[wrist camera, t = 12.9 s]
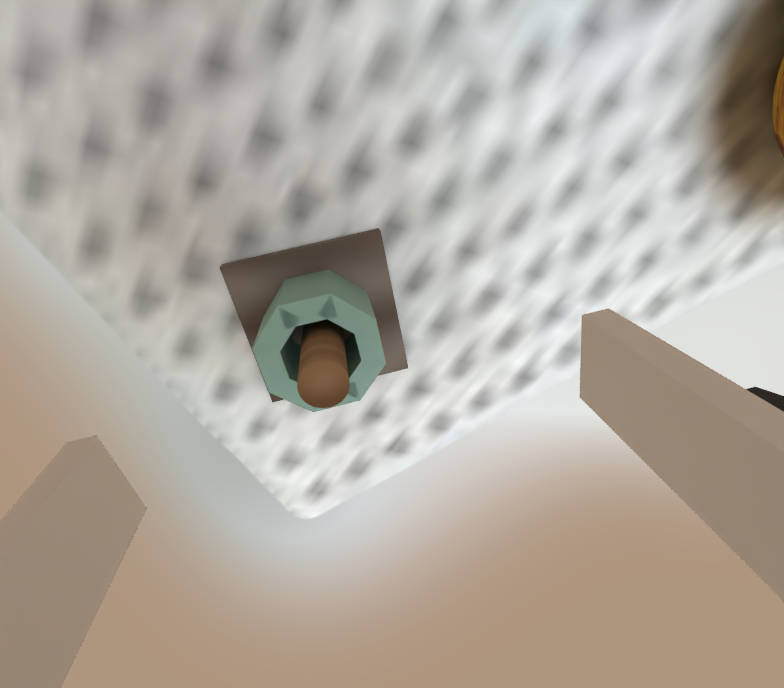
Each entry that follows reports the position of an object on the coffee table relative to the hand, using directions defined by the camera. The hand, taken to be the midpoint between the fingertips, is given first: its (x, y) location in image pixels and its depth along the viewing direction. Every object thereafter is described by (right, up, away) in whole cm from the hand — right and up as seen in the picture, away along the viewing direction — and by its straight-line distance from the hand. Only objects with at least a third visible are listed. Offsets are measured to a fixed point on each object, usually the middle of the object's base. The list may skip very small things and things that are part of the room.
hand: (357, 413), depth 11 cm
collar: (-5, +4, +21) cm, 22 cm away
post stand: (-5, +4, +22) cm, 23 cm away
